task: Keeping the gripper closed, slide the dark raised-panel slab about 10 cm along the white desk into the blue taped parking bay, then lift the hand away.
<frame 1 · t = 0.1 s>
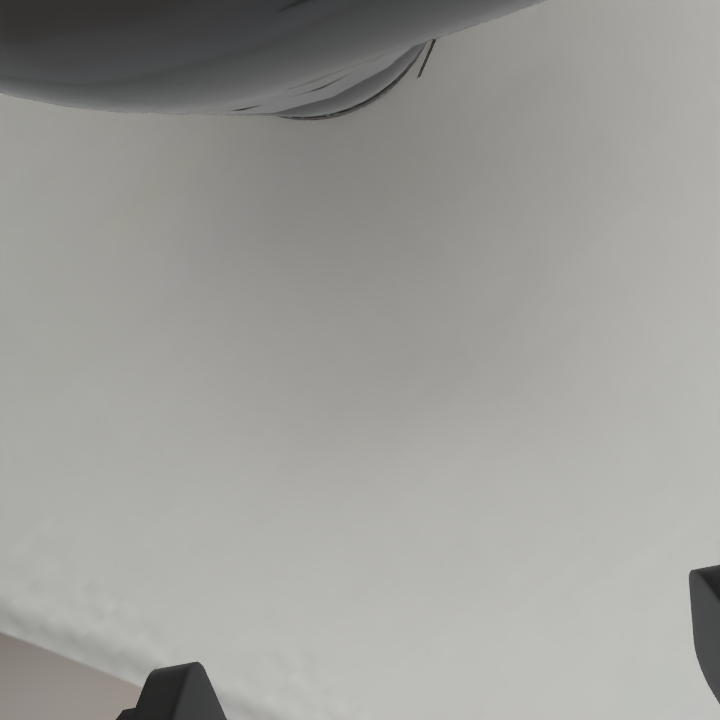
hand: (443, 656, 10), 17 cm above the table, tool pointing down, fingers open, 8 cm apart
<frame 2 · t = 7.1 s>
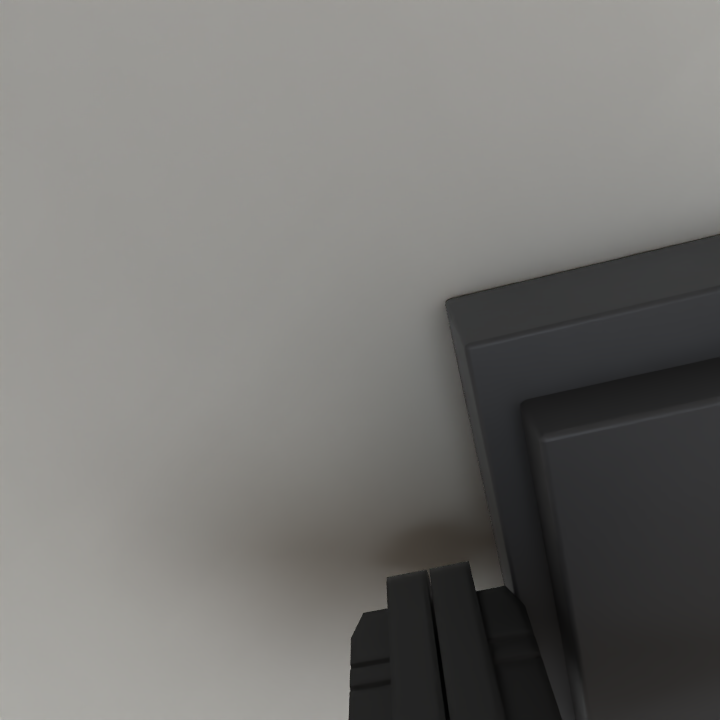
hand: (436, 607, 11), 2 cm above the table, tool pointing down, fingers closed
dark raised-panel slab: (646, 504, 12), on the table, touching gripper
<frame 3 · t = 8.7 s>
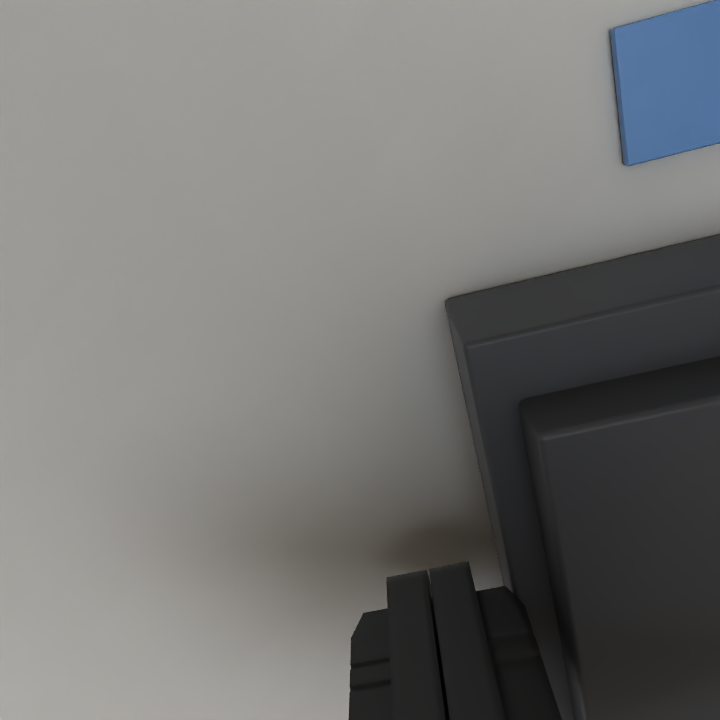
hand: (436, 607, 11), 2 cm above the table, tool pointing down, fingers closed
dark raised-panel slab: (645, 504, 12), on the table, touching gripper
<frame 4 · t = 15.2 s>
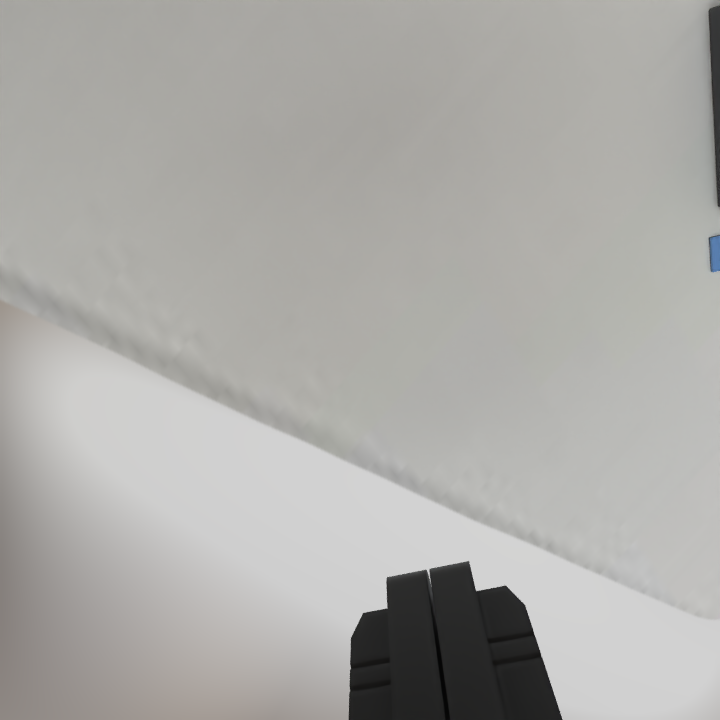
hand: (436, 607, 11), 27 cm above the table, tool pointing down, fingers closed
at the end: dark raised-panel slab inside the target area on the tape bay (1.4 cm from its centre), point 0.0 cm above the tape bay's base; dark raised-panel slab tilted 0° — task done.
